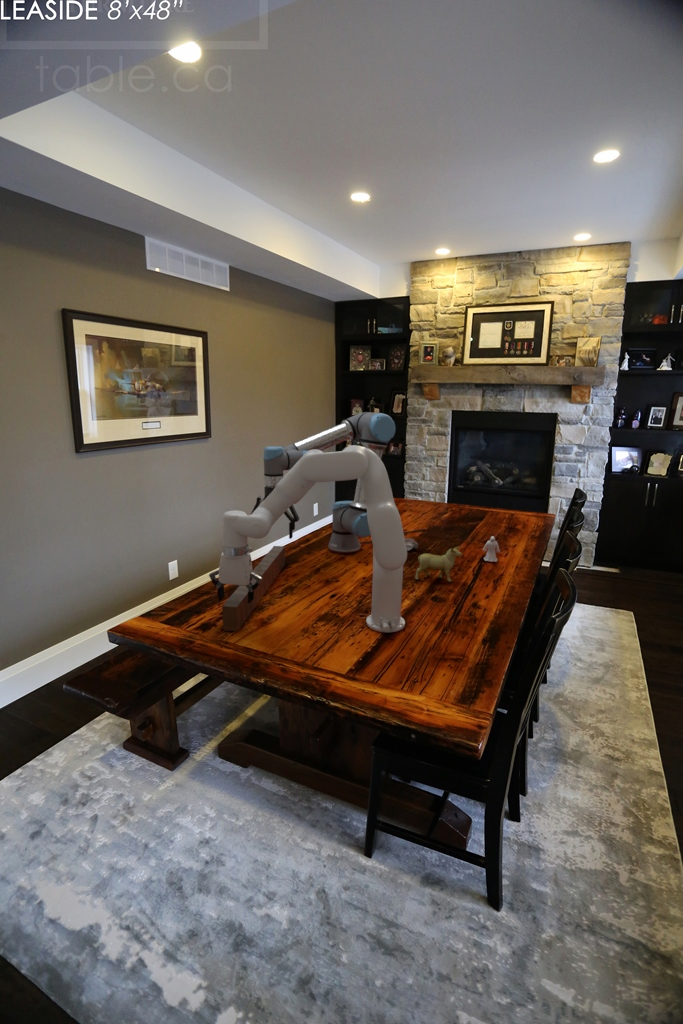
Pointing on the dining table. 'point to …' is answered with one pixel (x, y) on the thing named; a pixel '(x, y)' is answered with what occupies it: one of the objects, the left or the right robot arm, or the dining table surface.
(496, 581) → the dining table surface
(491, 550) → the figurine
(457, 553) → the toy
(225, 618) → the bar
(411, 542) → the seashell
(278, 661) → the dining table surface
